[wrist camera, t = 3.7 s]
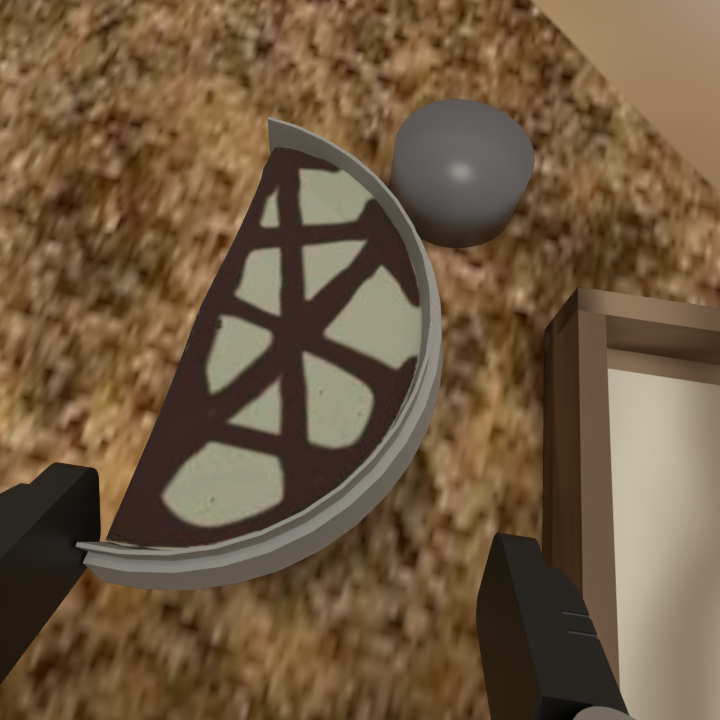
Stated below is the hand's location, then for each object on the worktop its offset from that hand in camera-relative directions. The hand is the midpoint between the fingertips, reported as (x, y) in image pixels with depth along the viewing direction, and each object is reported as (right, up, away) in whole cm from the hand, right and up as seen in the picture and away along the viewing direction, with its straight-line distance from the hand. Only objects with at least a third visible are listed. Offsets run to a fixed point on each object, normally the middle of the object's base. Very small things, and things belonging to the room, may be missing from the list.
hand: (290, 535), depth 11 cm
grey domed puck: (+6, +11, +16) cm, 20 cm away
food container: (0, 0, +11) cm, 11 cm away
